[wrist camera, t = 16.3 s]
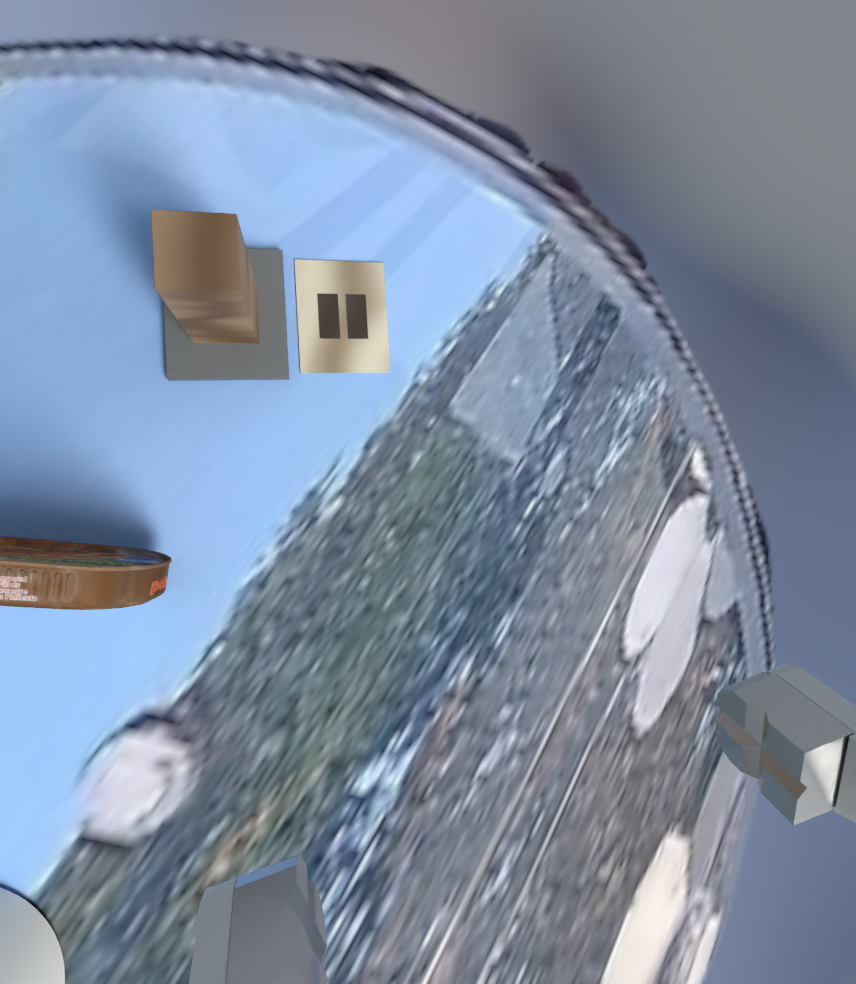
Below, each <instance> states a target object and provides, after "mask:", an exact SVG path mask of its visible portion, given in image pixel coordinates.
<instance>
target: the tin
mask: <svg viewBox="0 0 856 984" xmlns="http://www.w3.org/2000/svg"><path fill="white" fill-rule="evenodd" d="M170 562H171V558H170V557H169V556H167V555H165V554H162V553H159V552H155V551H150V550H144V549H135V548H127V547H117V546H105V545H93V544H81V543H70V542H59V541H48V540H37V539H25V538H13V537H0V605H1V606H15V607H34V608H52V609H76V610H92V609H112V608H123V607H129V606H135V605H139V604H143V603H146V602H148V601H150V600H152V599H154V598H156V597H158V596H160V595H161V594H163V593H164V591H165V589H166V584H167V577H168V568H169V564H170Z"/></svg>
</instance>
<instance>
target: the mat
mask: <svg viewBox="0 0 856 984" xmlns="http://www.w3.org/2000/svg"><path fill="white" fill-rule="evenodd" d="M246 250H247V253H248V257H249V260H250V264H251V267H252V271H253V274H254V278H255V281H256V288H257V307H258V326H259V343H194V342H193V341H192V339H191V338H190V336H189V335H188V334H187V332H186V331H185V330H184V328H183V327H182V325H181V324H180V323H179V321H178V320H177V318H176V317H175V316H174V314H173V313H172V312H171V310H170V309H169V307H168V306H167V305H166V303H165V302H164V301H163V302H164V326H165V350H166V374H167V379H168V380H270V379H289V369H288V351H287V332H286V313H285V294H284V275H283V257H282V250H274V249H249V248H246Z"/></svg>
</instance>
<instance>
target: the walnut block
mask: <svg viewBox="0 0 856 984" xmlns="http://www.w3.org/2000/svg"><path fill="white" fill-rule="evenodd" d="M151 213H152V236H153V260H154V283H155V290H156V291H157V292H158V294H159V295H160V296H161V298H162V299H163V301H164V302H165V303H166V305H167V306H168V307H169V309H170V310H171V312H172V313H173V314H174V316H175V317H176V318H177V320H178V321H179V323H180V324H181V325H182V327H183V328H184V330H185V331H186V332H187V334H188V335H189V336H190V338H191V339H192V341H193V342H194V343H259V326H258V307H257V288H256V281H255V278H254V274H253V271H252V267H251V264H250V260H249V257H248V253H247V250H246V246H245V243H244V239H243V236H242V232H241V229H240V225H239V222H238V218H237V215H236V214H227V213H207V212H188V211H169V210H151Z"/></svg>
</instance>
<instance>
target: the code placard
mask: <svg viewBox="0 0 856 984" xmlns="http://www.w3.org/2000/svg"><path fill="white" fill-rule="evenodd" d="M294 260H295V278H296V297H297V315H298V334H299V352H300V371H301V373H381V372H390V360H389V344H388V328H387V312H386V296H385V280H384V264H383V263H380V262H353V261H326V260H299V259H294Z"/></svg>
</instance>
